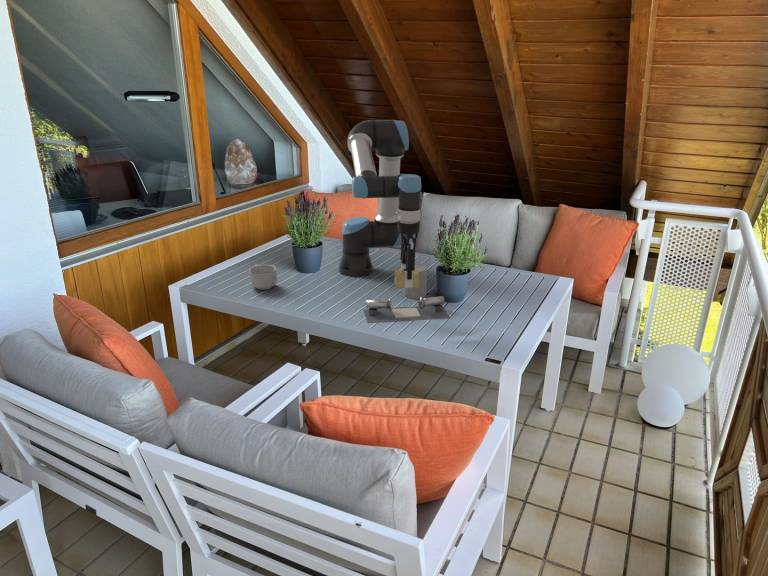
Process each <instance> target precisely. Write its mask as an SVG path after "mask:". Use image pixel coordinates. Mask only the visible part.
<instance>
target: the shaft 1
mask: <svg viewBox="0 0 768 576" xmlns="http://www.w3.org/2000/svg"><path fill="white" fill-rule="evenodd" d="M365 307H366V308H365V309H369V316H377V309H389V311H391V308H392V298H389V299H388V300H386V299H385V300H383V299H382V300H380V299H379V300H378V299H377V300H376V299H375V300H374V299H371V300H370V299H366V302H365Z"/></svg>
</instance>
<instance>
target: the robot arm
mask: <svg viewBox="0 0 768 576" xmlns="http://www.w3.org/2000/svg"><path fill="white" fill-rule="evenodd" d="M409 139H410V138H409V131H408V127H407V124H406V123H405V122H404V120H396V119H376V120H375V119H374V120H373V119H367V120H363V121H361V122H359V123H357V124H356V125H354V126H353V128H352V129H351V130H350V131H349V133H348V135H347V140H346V141H347V142H346V143H347V144H346V145H347V148H348V151H349V152H350V153H351V157H352V163H353V168H354V173H355V176H353V177H352V179H351V193H352V197H353V198H355V199H364V200H365V199H378V205H377V207H378V209H377V214H376V215H374V220H370V218H369V217H367V216H355V217H351V218H348V219H346V220H345V221H343V223H342V231H341V234H342V255H341V257H340V258H341V259H340V261H339V264H338V272H339V273H340V274H341V275H344V276H349V277H363V276H368V275H371V274H372V273H373V272H374V264H373V261H372V258H371V255H370V249H381V248H382V249H383V248H385V249H388V248H390V249H391V248H398V247H400V262H401V270H404V271H405V285H404V287H405V288H412V284H413V271H414V270H415V264H416V246H417V243H416V239H415V237H414V235H415V234H418V233H419V232H420V226H421V225H420V221H421V197H422V195H421V193H422V177H421V176H419V175H418V174H413V173H411V174H410V173H408V174H407V173H406V174H405V173H400V171H401V158H403V157H404V156H405V151H407V150H409V146H410V140H409ZM372 151H375V155H376V156H377V158H379V159H378V160H379V165H378V168H379V169H378V174H377V171H376V166H375V161H374V157H373V153H372Z"/></svg>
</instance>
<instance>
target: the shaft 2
mask: <svg viewBox="0 0 768 576" xmlns="http://www.w3.org/2000/svg"><path fill="white" fill-rule="evenodd" d="M417 304H418V306H419V308H420V309H423V308H424V307H426V306H430V308H431V309H432V310H433V311H434V312H442V310H443V308H444V306H443V305H444V304H445V297H444V296H443V295H441V296H439V295H438V296H433V297H423V298H422V297H419V298H418V299H417Z"/></svg>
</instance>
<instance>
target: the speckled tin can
mask: <svg viewBox="0 0 768 576" xmlns="http://www.w3.org/2000/svg"><path fill="white" fill-rule="evenodd" d="M416 269H417V271H418V273H419V288H401V289H402V290H401V291H402V292H401V293H402V296H403V297H404V298H407V299H413V300H415V299H416V300H418V298H419V297H422V298H423V299H424V298H426V297H427V283H428V266H426V265H424V264H421V263H415V270H416Z"/></svg>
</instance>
